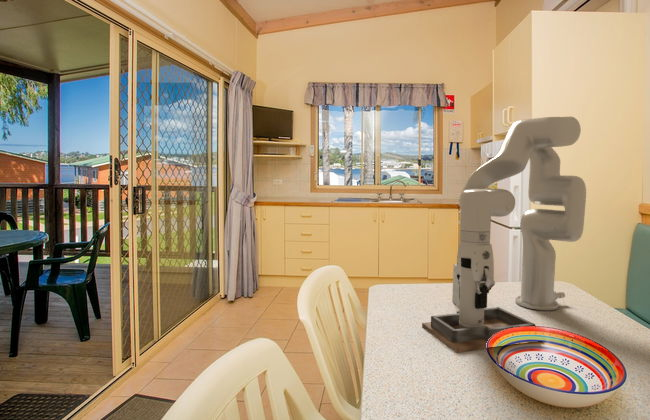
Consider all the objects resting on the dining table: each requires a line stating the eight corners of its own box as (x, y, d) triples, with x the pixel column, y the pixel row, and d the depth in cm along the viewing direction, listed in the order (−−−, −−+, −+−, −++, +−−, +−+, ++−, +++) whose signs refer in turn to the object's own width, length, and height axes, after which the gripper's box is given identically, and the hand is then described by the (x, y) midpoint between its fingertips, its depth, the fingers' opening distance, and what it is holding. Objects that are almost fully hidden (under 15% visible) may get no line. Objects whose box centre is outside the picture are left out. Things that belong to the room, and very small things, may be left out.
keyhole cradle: (497, 318, 118) (498, 305, 118) (542, 341, 102) (543, 326, 102) (422, 326, 112) (422, 312, 112) (456, 352, 96) (457, 336, 95)
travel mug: (487, 333, 102) (489, 256, 101) (460, 331, 104) (462, 255, 102) (482, 324, 108) (484, 252, 107) (457, 322, 110) (459, 251, 108)
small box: (459, 307, 128) (460, 268, 127) (451, 301, 134) (452, 263, 133) (483, 307, 128) (485, 267, 127) (475, 301, 134) (476, 263, 133)
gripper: (510, 241, 97) (507, 313, 98) (467, 231, 113) (465, 293, 115) (483, 243, 95) (481, 316, 96) (443, 232, 111) (442, 295, 113)
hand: (472, 303), depth 106 cm, fingers closed on travel mug, 6 cm apart
